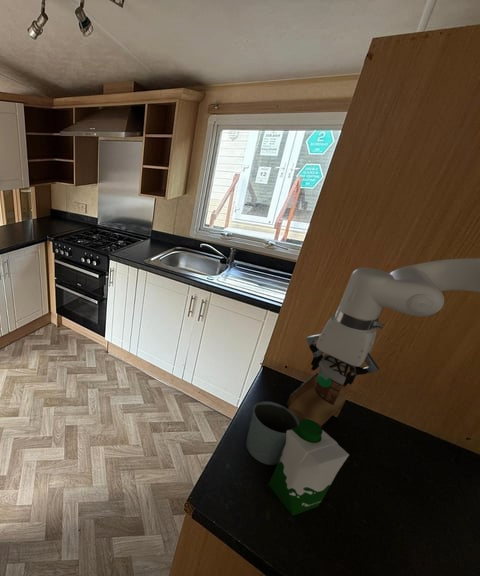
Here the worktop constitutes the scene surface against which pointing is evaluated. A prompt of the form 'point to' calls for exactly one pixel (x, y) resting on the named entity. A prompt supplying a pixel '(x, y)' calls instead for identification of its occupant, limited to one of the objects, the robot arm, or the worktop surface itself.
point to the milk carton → (306, 467)
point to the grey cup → (269, 431)
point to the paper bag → (313, 403)
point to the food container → (330, 378)
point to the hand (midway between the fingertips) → (329, 375)
